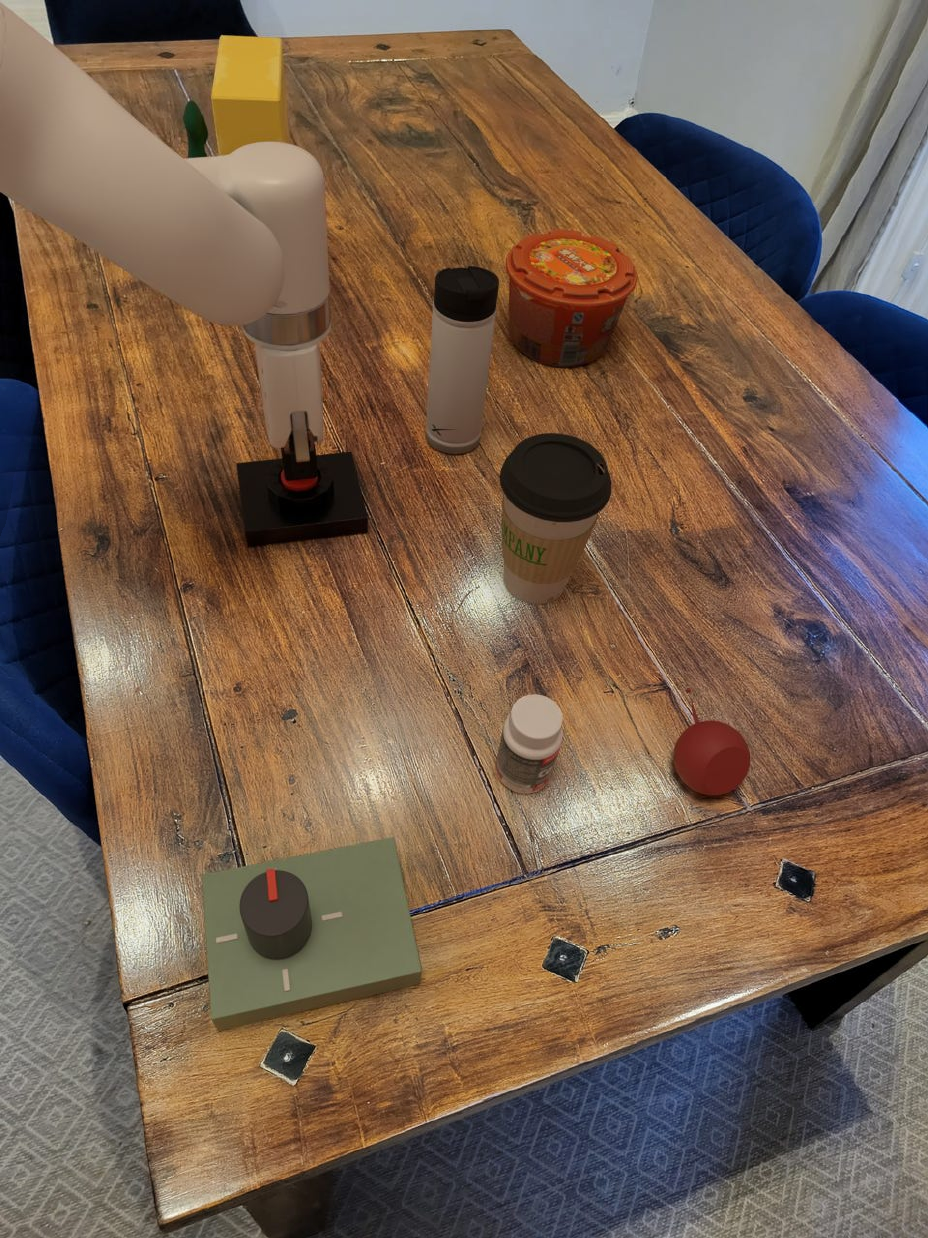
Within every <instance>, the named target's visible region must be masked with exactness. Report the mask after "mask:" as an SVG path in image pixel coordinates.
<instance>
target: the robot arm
mask: <svg viewBox="0 0 928 1238" xmlns="http://www.w3.org/2000/svg"><path fill="white" fill-rule="evenodd" d="M325 183H326V182H325V176H324V171H323V169H322V167H321V165H320V163H319V161H318V160H317V159H316V157H315V156H314V155H313V154H311V153H310V152H309V151H307V150H306V149H305V148H302V147H300V146H297V145H295V144H292V143H290V144H288V143H282V142H257V143H252V144H248V145H245V146H242V147H240V148H238V149H236V150H235V151H234V152H232V153H231V154H229V155H222V156H219V155H216V156H207V157H200V158H188V157H186V158H185V157H182V156H181V155H180V154H178V153H177V152H175V150H174V149H172V148H171V147H170V146H168V145H167V144H166V143H165V142H164V141H162V140H161V139H160V138H159V137H158V136H157V135H155V134H154V133H153V132H152V131H151V130H149V129H148V127H146V126H145V125H144V124H142V123H141V122H140V121H139V120H138V119H137V118H136V117H134V116H133V115H132V114H131V113H130V112H129V111H127V110H126V109H125V108H124V107H123V106H122V105H121V104H120V103H119V102H118V101H117V100H116V99H114V98H113V97H112V96H111V95H110V94H109V92H107V91H106V90H105V89H104V88H103V87H102V86H101V85H100V84H99V83H97V82H96V81H95V80H94V79H93V78H92V77H91V76H90V75H89V74H88V73H86V72H85V70H83V69H82V67H80V66H79V65H78V64H76V63H75V62H74V61H73V60H72V59H71V58H70V57H68V56H67V55H66V54H64V53H63V52H62V51H61V50H60V49H59V48H57V46H55V45H54V44H53V43H51V42H50V41H49V39H47V38H46V37H45V36H44V35H42V34H41V33H40V32H39V31H38V30H36V29H35V28H34V27H33V26H31V25H30V24H29V23H28V22H26V21H25V20H24V19H22V18H21V17H20V16H19V15H18V14H16V13H15V12H14V11H13V10H11V9H10V8H9V7H8V6H7V5H5V4H4V3H3V2H2V1H0V193H1V194H3V196H5V197H7V198H8V199H10V200H11V201H13V202H15V203H16V204H18V205H19V206H21V207H23V208H24V209H26V210H28V212H31V213H33V214H34V215H36V216H38V217H40V218H41V219H43V220H44V221H46V222H48V223H49V224H51V225H53V226H55V227H57V228H58V229H60V230H61V231H63V232H65V233H66V234H68V235H70V236H71V237H73V238H75V239H76V240H78V241H79V242H80V243H82V244H84V245H86V246H87V247H88V248H90V249H92V250H93V251H95V253H98V254H99V255H101V256H102V257H103V258H105V259H107V260H108V261H109V262H111V263H113V264H114V265H116V266H117V267H119V268H120V269H122V270H123V271H125V272H126V273H128V274H129V275H130V276H133V277H134V278H135V279H137V280H139V281H140V282H142V283H143V284H145V285H146V286H148V287H150V288H151V289H152V290H155V291H156V292H158V293H160V294H161V295H163V296H164V297H166V298H168V299H169V300H170V301H173V302H174V303H176V304H178V305H179V306H181V307H182V308H184V309H186V310H188V311H189V312H191V313H193V314H194V315H196V316H198V317H199V318H201V319H203V320H205V321H206V322H209V323H211V324H213V325H219V326H223V327H239V326H240V327H241V331H242V333H243V336H245V337H246V338H247V339H248V341H250V342H252V343H253V344H254V349H255V350H254V351H255V359H256V367H257V368H256V369H257V375H258V376H257V377H258V384H259V390H260V399H261V404H262V410H263V411H262V412H263V417H264V423H265V430H266V434H267V439H268V440H267V441H268V443H269V445H270V446H271V447H272V448H274V449H278V448H279V449H280V452H281V459H282V462H283V470H284V475H285V479H286V480H287V481H291V480H301V479H310V478H316V477H317V476H318V473H317V459H316V455H317V448H316V445H319V444H320V443H322V441H323V440H324V405H323V384H322V383H323V382H322V369H321V368H322V366H321V351H320V350H321V349H320V343H321V342H323V341H324V340H325V339H326V338H327V337H328V335H330V332H331V331H332V305H331V302H332V301H331V287H330V267H329V245H328V221H327V202H326V198H327V197H326V184H325Z"/></svg>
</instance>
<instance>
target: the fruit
mask: <svg viewBox="0 0 928 1238" xmlns="http://www.w3.org/2000/svg"><path fill="white" fill-rule="evenodd" d="M685 692H686V693H687V694H689V695H690V696H689V697H690V702H691V703H690V704H691V713H692V718H693V723H694V724H691V725H689V726H688V727H687V728H685V730H683V732H681V734H680V735H679V737H678V738H677V740H676V742H675V745H674V750H673V764H674V768H675V771H676V774H677V775H678V776H679V778H680V779H681V781H682V782H683V783H684V784H685V785H686V786H687V787H688V788H690V789H691V790H693V791H695V792H697V793H699V794H703V795H707V796H721V795H725V794H728V793H731V792H732V791H734V790H735V789H737V788H738V787H739V786H740V785H741V784H742V783H743V782H744V781H745V779H746V778H747V776H748V773H749V770H750V766H751V753H750V748H749V745H748V743H747V741H746V739H745V738H744V737H743V735H742V734H741V733H740V732H739V731H738V730H737V729H736V728H734V727H733V726H732V725H730V724H728V723H726V722H723V721H719V720H712V719H711V720H702V721H700V720H699V718H698V715H697V712H696V709H695V706H694V702H693V698H692V696H691V692H692V689H691V688H690V687H687V688H686V689H685Z"/></svg>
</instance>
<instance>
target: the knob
mask: <svg viewBox="0 0 928 1238" xmlns="http://www.w3.org/2000/svg"><path fill="white" fill-rule="evenodd" d="M239 910H240V915H241V918H242V921H243V924H244V927H245V930H246V933H247V936H248V939H249V942H250V944H251V946H252V947H253V949H254V950H255V951H256V952H257V953H258V954H260V955H261V956H263V957H265V958H268V959H274V960H279V959H285V958H288V957H291V956H293V955H295V954H296V953H297V952H299V951H300V950H301V949H302V948H303V947H304V946H305V944H306V943H307V941H308V939H309V937H310V935H311V931H312V918H311V911H310V905H309V899H308V893H307V890H306V887H305V885H304V884H303V882H302V881H301V880H300V879H299V878H298V877H297V876H295V875H294V874H292V873H290V872H287V871H282V870H275V869H269V870H266V872H265V873H262V874H260V875H258V876H257V877H255V878H254V879H253V880H252V881H250V883H249V884H248V885H247V886H246V887H245V889H244V891H243V893H242V895H241V899H240V904H239Z"/></svg>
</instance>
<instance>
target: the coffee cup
mask: <svg viewBox="0 0 928 1238" xmlns="http://www.w3.org/2000/svg"><path fill="white" fill-rule="evenodd" d="M504 459H505V460H504V462H503V463H502V466H501V468H500V471H499V485H500V488H501V490H502V492H503V495H502V500H501V554H502V560H503V562H502V563H503V565H502V567H503V570H502V571H503V573H502V576H503V577H502V579H503V585H504V586H505V589H506V590H507V592H509V594H511V596H513V597H514V598H516V599H517V600H519V601H521V602H522V603H523V602H524V603H526V604H531V605H545V604H549V603H552V602H554V601H555V600H558V598H560V597H561V596H562V594H563V593H564V591H565V589H566V587H567V584H568V582H569V580H570V578H571V576H572V574H573V573H574V572H575V570H576V568H577V566H578V563H579V562H580V560H581V557H582V555H583V553H584V550H585V548H586V546H587V544H588V542H589V539H590V538H591V535H592V533H593V532H594V531H593V530H594V529H595V526H596V524H597V522H598V519H599V513H600V512H601V511H602V510H604V508H605V507H606V506H607V505H608V503H609V501H610V499H611V496H612V484H613V483H612V478H611V474H610V471H609V468H608V464H607V461H606V460H605V457H604V456H603V455H602V453H601V452H600V451H599V450H598V449H597V448H596V447H595V446H593V445H592V444H590V443H588V442H587V441H585V440H583V439H581V438H579V437H576V436H572V435H569V434H567V433H566V434H565V433H557V432H547V433H538V434H534V435H531V436H529V437H526V438H525V439H522V440H521V441H520V442H519V443H518V444H517V445H515V447H514V448H513V450H512V451H510V453H509V454H508V455H507V456H506V458H504Z"/></svg>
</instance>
